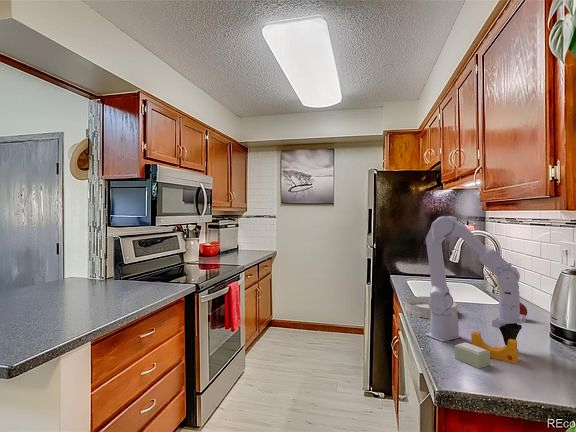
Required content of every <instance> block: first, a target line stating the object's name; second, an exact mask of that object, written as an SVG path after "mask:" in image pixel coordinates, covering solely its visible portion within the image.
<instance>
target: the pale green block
mask: <svg viewBox="0 0 576 432" xmlns="http://www.w3.org/2000/svg"><path fill="white" fill-rule="evenodd" d="M454 359H456V360H457V361H460V362H463V363H465V364H467V365H470V366H471V367H474V368H476V369H482V368H485V367H489V366H491V365H490V364H491V363H490V362H491V359H490V352H489V351H487V350H486V349H483V348H480V347H477V346H475V345H472V343H469V342H462V343H458V344H456V345H454Z"/></svg>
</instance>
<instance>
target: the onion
mask: <svg viewBox="0 0 576 432" xmlns="http://www.w3.org/2000/svg"><path fill="white" fill-rule="evenodd" d="M519 306H520V314H521V315H525V316H526V317H527V316H528V309H527V306H525V305H524V304H523V303H522V302H521V301H520V305H519Z"/></svg>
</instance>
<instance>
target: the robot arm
mask: <svg viewBox="0 0 576 432" xmlns="http://www.w3.org/2000/svg"><path fill="white" fill-rule="evenodd" d="M449 235H450V236H452V237H455V238H456V237H457V238H461V240H463V241H464V242H465V243H466V244H467V245H468V246H469V247H470V248H471V249H472V250H474V252H476V253H477V255H478V257H479V258H478V260H479V261H480V263H481V264H482V265H483V266H484V267H485V268H487V270H488V271H490V272H491V273H492V274H493V275H494V276H496V280H497V282H498V284H499V285H498V286H499V287H498V316H497V317H496V318H495V319H492V320H491V324H492V325H491V326H492V327H494V328H497V329H499V331H500V334H501V336H502V338H503V343H504V346H507V344H508V340H509V339H514V340H517V337H518V335H519V333H520V331H522V324H524V322H526V321H527V320H526V317H527V315H526V316H525V315H521V314H520V306H519V305H520V302H521V301H520V286H519V281H520V278H521V275H520V271H519V270H518V269H517V267H514V266H513V264H512V263H510V262H509V263H508V261H506V259H504V258H503V257H502V256H501V254H502V253H501V252H500V251H499V250H495V249H493V248H487V247H486V246H485V245H484V244H483V243H482V242H481V240H480V239H479V238H478V237H477V236H476V235H475V234H474V233H473V232H472V231H471V230H470V229H469V228H468V227H467V226H466V225H465V224H464V223H462V222H461V221H459V220H458V218H457V217H455V216H454V215H453V216H452V215H447V216H446V215H443V216H439V217H437V218H436V219H435V220H434V221H432V222H431V225H430V229H429V231H428V233H427V235H426V237H425V242H426V252H427V257H428V260H427V261H428V266H429V274H430V283H431V284H430V285H431V288H430V291H429V292H430V293H429V297H430V300H429V308H430V309H431V319H430V332H426V333H424V334H425V336H428V337H430V338H432V339H435V340H437V341H440V342H448V341H451V340H452V341H453V340H455V339H460V338H462V336H461V335H460V334H459V333H460V330H459V329H460V327H459V325H460V323H459V317H458V314H457V315H456V313H454V312H453V311H451V309H450V307H452V305H453V302H454V298H453V296H452V295H451V293H450V288H449V287H448V284H447V277H446V269H445V263H444V252H443V246H442V245H443V244H442V242H443V241H444V240H445V239H446V238H447V237H448V236H449Z"/></svg>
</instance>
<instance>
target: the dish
mask: <svg viewBox="0 0 576 432" xmlns="http://www.w3.org/2000/svg"><path fill="white" fill-rule="evenodd" d="M429 300H430V296H411V297H407V298H406V299H405V305H404V312H405V311H406V312H408V313H410V314H412V315H415V316H419V317H423V318H422V319H424V318H428V319H427V320H431V309H430V308H429ZM450 309H451V311H453V312H454V313H456V315H457V316H458V304H457V302H455V301H453V305H452V307H450ZM406 312H405V313H406ZM412 315H411V316H412ZM419 317H418V318H419Z"/></svg>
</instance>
